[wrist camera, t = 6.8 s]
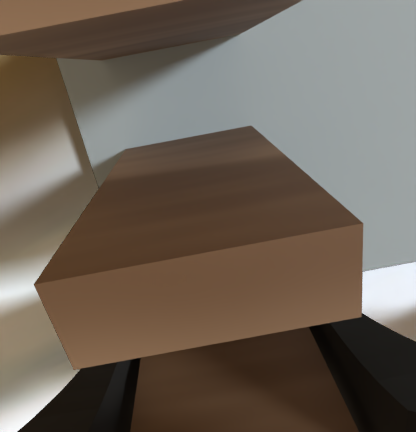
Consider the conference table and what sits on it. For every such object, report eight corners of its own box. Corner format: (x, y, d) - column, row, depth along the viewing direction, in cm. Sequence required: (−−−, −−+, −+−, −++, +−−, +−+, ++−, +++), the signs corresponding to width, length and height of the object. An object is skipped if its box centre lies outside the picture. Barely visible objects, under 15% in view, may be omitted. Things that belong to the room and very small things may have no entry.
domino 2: (256, 169, 14) (361, 317, 6) (137, 191, 14) (73, 369, 6) (250, 125, 13) (362, 223, 5) (125, 149, 13) (33, 284, 5)
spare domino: (268, 267, 16) (358, 480, 8) (164, 287, 16) (146, 519, 8) (264, 234, 15) (358, 431, 7) (155, 255, 15) (124, 474, 7)
